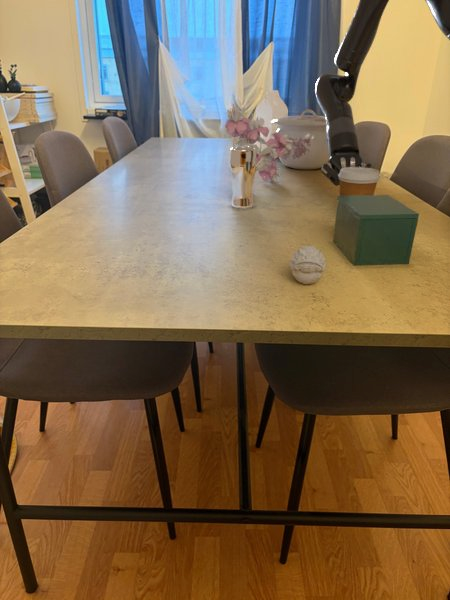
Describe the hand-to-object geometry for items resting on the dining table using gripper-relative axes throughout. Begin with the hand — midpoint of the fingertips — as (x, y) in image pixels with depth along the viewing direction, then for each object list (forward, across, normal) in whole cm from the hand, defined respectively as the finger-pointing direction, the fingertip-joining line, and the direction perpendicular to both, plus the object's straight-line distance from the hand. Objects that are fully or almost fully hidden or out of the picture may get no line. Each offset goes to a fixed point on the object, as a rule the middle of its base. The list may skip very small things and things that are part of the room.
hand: (350, 198), depth 108 cm
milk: (-74, -4, +82) cm, 111 cm away
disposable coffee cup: (+6, 0, 0) cm, 6 cm away
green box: (+21, -4, -15) cm, 26 cm away
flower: (-24, -18, +31) cm, 44 cm away
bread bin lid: (+15, -4, -21) cm, 26 cm away
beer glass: (-5, -26, +11) cm, 29 cm away
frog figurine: (+31, -20, -25) cm, 45 cm away
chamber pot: (-44, +3, +51) cm, 68 cm away
